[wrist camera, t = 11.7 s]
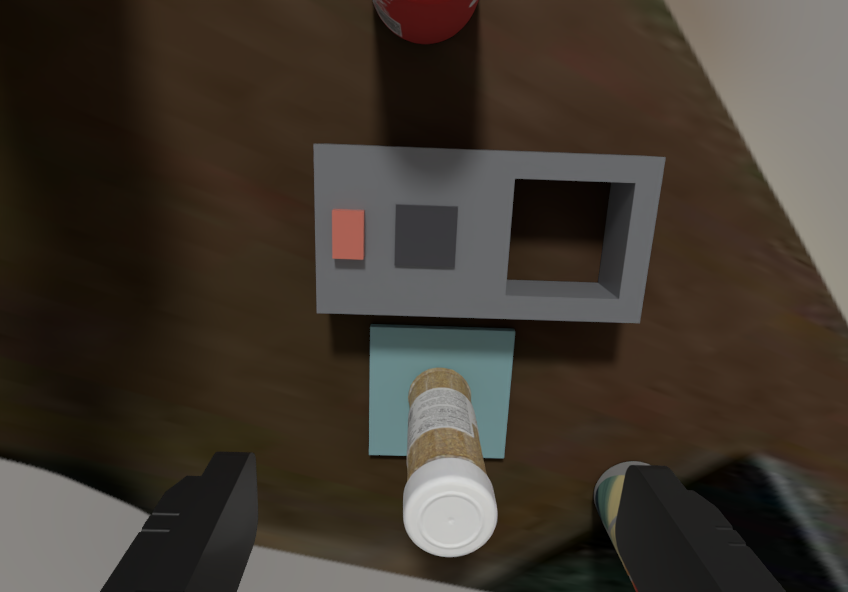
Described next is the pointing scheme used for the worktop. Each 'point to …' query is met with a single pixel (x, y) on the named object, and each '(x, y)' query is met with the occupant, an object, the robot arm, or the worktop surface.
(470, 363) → the mat
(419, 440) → the sprinkles bottle
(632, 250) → the power strip
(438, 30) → the beverage can
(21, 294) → the worktop surface
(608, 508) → the lotion bottle
